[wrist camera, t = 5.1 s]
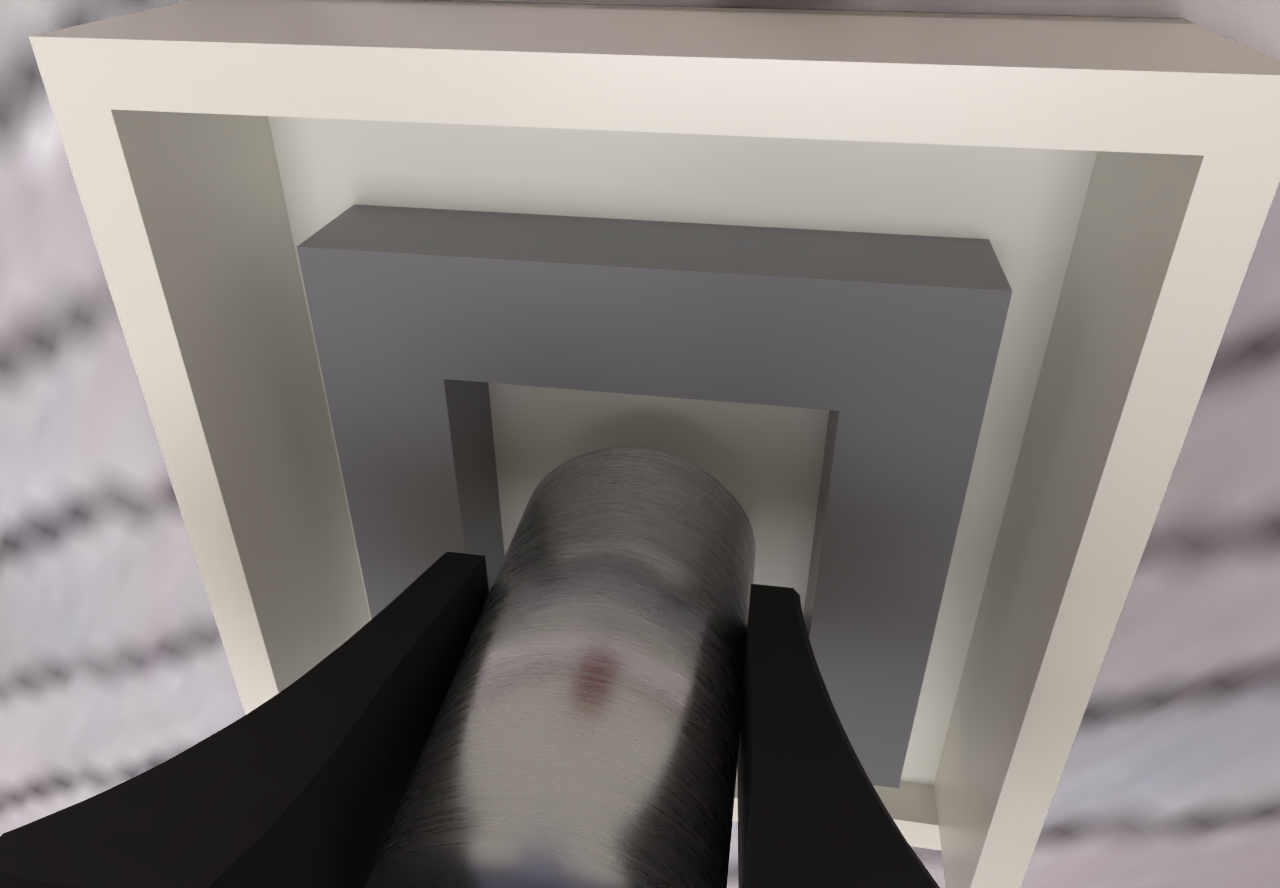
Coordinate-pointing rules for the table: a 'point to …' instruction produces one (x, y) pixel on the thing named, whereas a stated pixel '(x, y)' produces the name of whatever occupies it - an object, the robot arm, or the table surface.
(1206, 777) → the table surface
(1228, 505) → the table surface
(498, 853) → the metal plug
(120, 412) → the table surface
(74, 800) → the table surface
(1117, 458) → the walled box
